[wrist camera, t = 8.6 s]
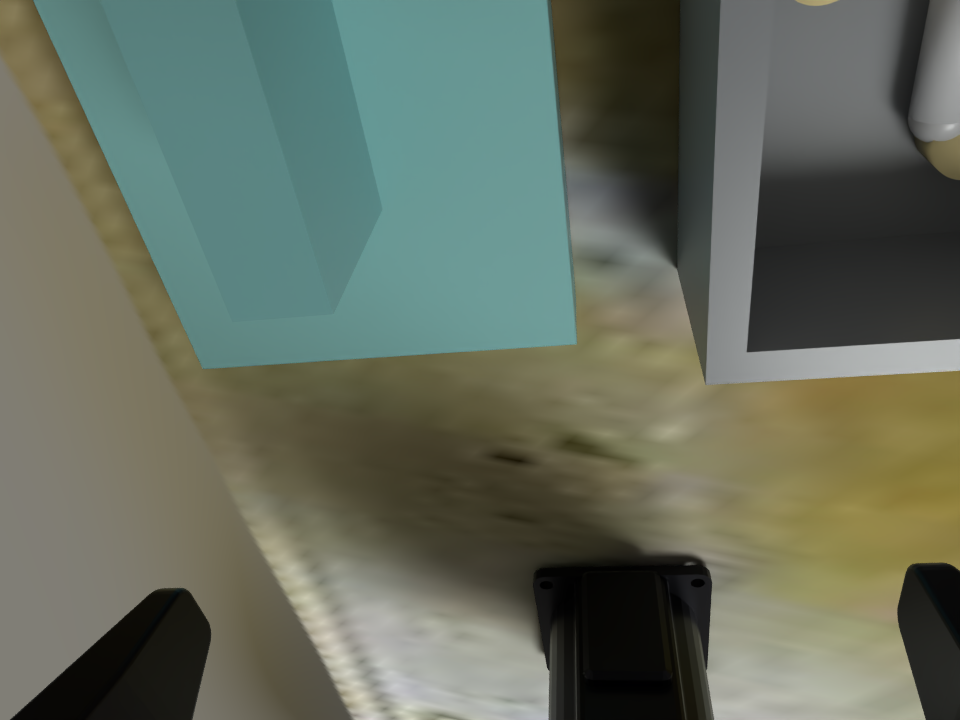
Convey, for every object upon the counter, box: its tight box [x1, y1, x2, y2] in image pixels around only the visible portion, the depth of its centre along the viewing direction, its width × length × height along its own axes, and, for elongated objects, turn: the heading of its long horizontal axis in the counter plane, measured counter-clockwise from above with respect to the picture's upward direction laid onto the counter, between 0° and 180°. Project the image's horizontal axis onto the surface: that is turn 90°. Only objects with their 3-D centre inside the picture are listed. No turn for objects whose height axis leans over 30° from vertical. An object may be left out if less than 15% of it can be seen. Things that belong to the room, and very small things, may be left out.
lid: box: [33, 0, 577, 369], centre depth 15 cm, size 14×10×7 cm
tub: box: [677, 0, 960, 385], centre depth 13 cm, size 13×9×5 cm
